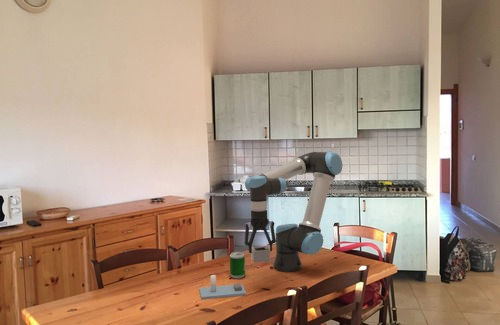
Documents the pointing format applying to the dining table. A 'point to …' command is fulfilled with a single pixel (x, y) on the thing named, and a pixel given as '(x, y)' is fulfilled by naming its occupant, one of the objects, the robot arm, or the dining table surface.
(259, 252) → the grey tapered block
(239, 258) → the soda can
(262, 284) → the dining table surface
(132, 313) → the dining table surface
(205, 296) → the keeper
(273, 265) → the robot arm
